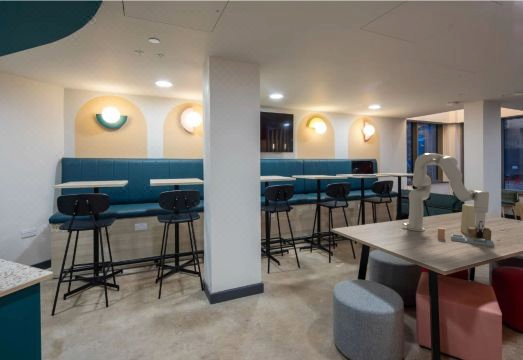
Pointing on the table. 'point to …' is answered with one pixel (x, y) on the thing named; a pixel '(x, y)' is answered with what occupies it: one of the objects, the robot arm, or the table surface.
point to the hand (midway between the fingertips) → (479, 236)
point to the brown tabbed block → (473, 233)
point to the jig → (471, 240)
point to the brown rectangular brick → (441, 233)
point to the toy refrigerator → (467, 217)
